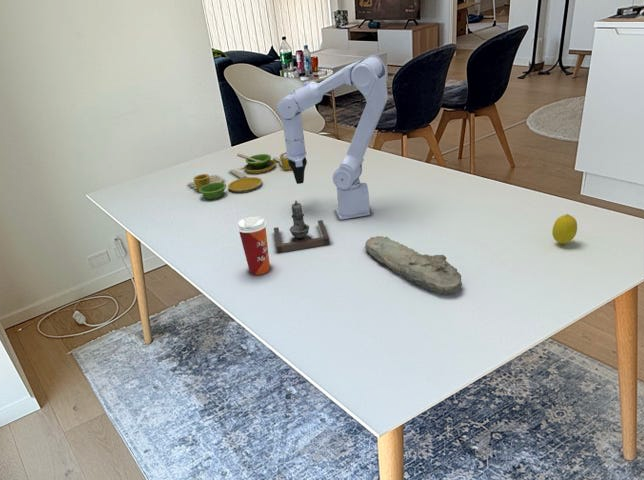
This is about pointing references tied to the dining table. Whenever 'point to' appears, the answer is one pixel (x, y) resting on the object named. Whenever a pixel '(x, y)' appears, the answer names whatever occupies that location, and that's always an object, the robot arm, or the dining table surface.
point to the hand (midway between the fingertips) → (299, 182)
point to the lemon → (564, 229)
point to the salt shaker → (298, 224)
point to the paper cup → (255, 244)
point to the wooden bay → (303, 243)
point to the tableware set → (256, 164)
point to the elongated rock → (416, 265)
